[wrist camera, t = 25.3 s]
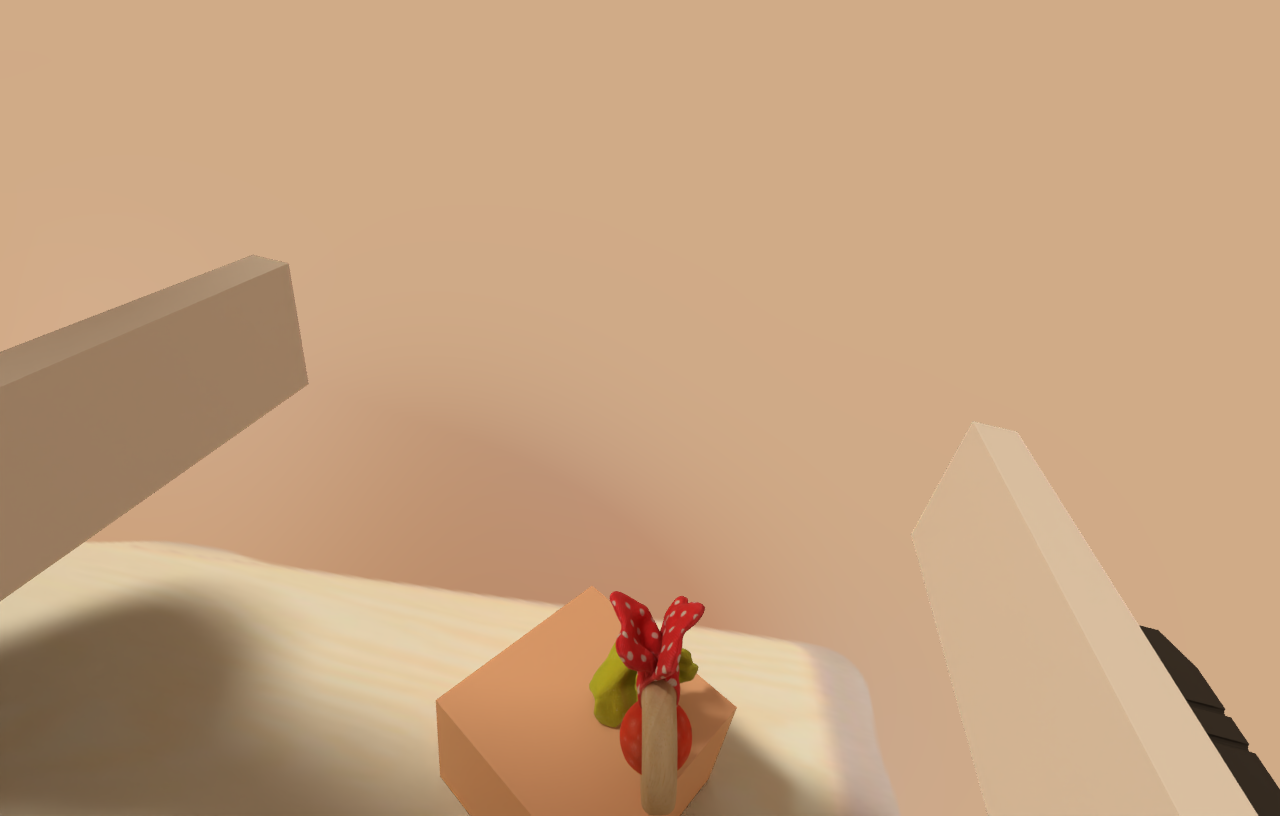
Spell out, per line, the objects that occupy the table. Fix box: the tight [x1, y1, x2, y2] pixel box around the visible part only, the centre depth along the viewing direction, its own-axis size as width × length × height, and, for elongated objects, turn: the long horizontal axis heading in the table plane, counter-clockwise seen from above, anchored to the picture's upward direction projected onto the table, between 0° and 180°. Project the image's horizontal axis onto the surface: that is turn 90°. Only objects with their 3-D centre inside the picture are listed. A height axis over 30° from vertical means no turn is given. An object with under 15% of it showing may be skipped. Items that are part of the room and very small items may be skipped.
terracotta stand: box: [436, 586, 737, 816], centre depth 36 cm, size 12×12×8 cm
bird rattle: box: [589, 591, 705, 816], centre depth 29 cm, size 6×11×9 cm
